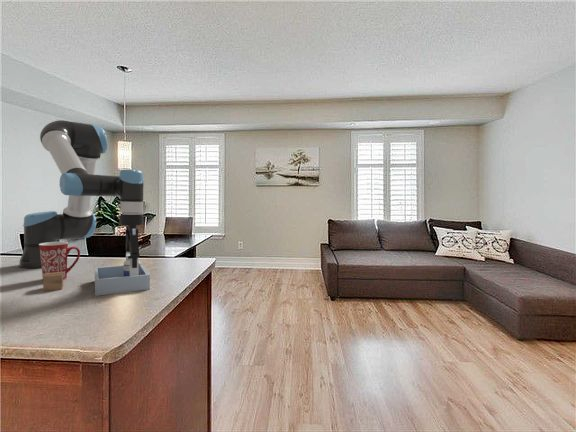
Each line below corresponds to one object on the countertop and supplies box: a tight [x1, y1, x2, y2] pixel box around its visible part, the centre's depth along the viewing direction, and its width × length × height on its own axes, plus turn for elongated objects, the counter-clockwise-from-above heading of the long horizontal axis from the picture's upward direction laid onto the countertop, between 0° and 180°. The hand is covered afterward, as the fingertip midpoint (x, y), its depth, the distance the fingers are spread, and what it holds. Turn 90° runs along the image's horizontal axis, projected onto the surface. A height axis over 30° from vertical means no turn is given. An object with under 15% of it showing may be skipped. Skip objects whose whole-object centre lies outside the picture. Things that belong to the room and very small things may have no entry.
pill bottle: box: [123, 254, 141, 277], centre depth 119 cm, size 5×5×10 cm
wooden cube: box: [42, 272, 64, 292], centre depth 112 cm, size 5×5×5 cm
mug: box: [39, 241, 81, 281], centre depth 124 cm, size 13×9×14 cm
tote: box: [94, 263, 151, 296], centre depth 118 cm, size 20×16×5 cm
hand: (132, 272), depth 119 cm, fingers open, 13 cm apart
